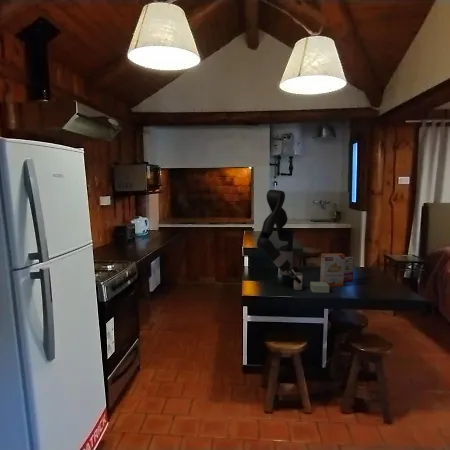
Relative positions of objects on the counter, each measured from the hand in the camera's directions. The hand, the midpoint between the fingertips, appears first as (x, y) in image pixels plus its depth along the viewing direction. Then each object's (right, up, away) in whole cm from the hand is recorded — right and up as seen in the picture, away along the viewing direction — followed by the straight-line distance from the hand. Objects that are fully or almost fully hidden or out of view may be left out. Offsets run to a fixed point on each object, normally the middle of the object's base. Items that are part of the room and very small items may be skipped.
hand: (299, 281), depth 241 cm
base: (+12, -5, -2) cm, 13 cm away
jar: (-1, -5, +1) cm, 5 cm away
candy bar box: (+34, -3, +21) cm, 41 cm away
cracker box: (+22, -5, +9) cm, 25 cm away
